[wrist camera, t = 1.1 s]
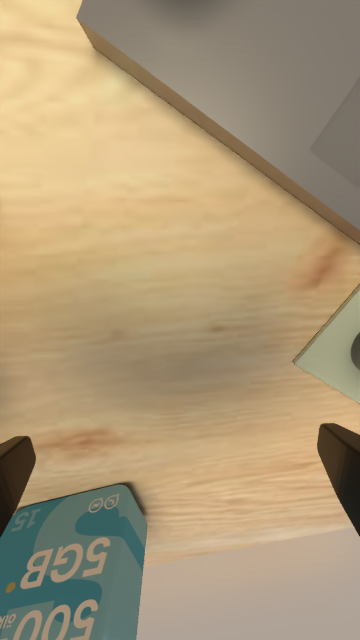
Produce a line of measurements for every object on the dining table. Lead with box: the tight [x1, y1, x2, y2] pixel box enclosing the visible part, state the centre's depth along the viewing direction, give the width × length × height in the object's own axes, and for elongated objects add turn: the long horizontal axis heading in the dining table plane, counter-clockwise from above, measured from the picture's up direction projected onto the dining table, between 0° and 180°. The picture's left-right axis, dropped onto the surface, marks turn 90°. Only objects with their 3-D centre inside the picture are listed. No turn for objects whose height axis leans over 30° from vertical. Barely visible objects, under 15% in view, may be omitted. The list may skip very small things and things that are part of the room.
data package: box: [0, 484, 147, 640], centre depth 24 cm, size 12×4×12 cm, turn 108°
